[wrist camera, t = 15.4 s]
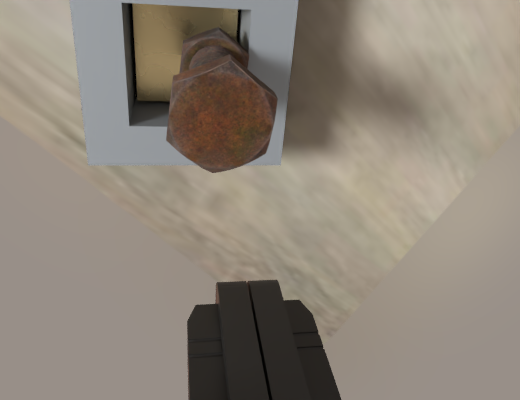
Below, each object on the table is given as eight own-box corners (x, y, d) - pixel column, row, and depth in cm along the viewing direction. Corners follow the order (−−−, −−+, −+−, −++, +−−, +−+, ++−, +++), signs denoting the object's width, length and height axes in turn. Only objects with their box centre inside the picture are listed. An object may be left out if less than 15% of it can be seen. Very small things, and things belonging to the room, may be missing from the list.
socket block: (283, -46, 35) (302, -40, 30) (267, 134, 42) (280, 165, 37) (80, -62, 32) (63, -57, 27) (99, 132, 39) (88, 165, 34)
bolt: (262, 50, 36) (301, 119, 23) (220, 100, 38) (235, 192, 25) (200, -4, 34) (206, 40, 21) (158, 52, 35) (139, 126, 23)
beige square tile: (235, 0, 36) (238, 3, 35) (231, 96, 40) (233, 102, 38) (133, -6, 35) (132, -3, 33) (138, 94, 38) (137, 100, 37)
